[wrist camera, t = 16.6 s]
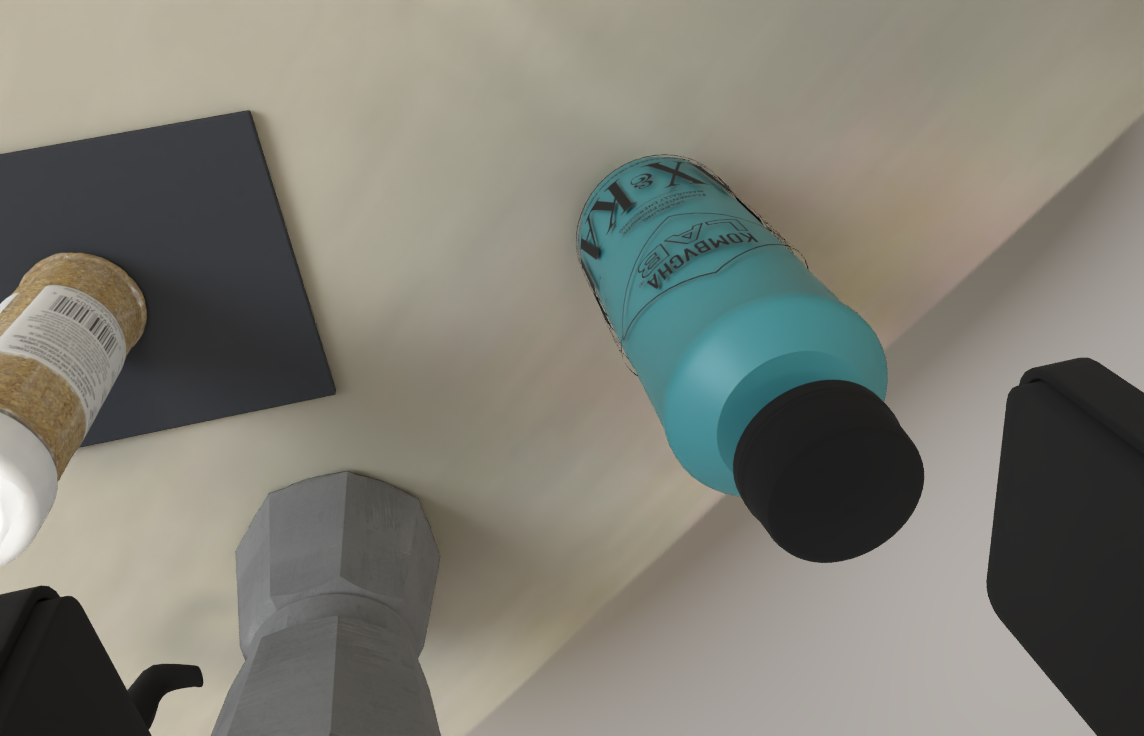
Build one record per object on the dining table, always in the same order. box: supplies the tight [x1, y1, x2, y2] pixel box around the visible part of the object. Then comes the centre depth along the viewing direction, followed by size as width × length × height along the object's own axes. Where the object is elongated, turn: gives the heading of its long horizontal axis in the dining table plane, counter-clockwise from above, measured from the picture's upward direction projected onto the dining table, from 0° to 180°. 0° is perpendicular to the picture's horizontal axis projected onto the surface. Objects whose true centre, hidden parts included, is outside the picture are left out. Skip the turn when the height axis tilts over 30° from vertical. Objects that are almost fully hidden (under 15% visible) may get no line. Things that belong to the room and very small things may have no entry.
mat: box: [0, 110, 336, 447], centre depth 35 cm, size 12×18×1 cm, turn 98°
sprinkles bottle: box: [0, 252, 147, 567], centre depth 29 cm, size 5×5×13 cm
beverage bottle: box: [576, 154, 924, 563], centre depth 29 cm, size 6×7×20 cm
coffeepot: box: [127, 471, 441, 736], centre depth 35 cm, size 15×9×18 cm, turn 80°
